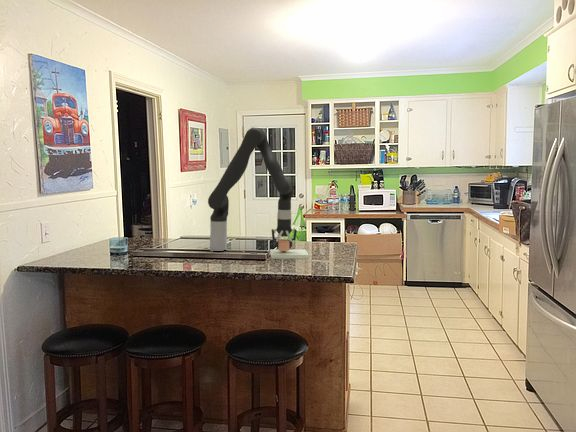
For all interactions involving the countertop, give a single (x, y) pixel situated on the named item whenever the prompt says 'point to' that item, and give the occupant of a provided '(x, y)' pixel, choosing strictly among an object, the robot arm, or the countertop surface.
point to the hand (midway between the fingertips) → (283, 248)
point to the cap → (283, 244)
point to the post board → (289, 254)
